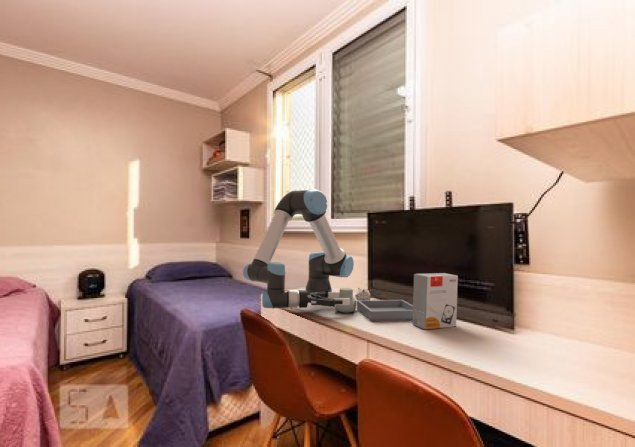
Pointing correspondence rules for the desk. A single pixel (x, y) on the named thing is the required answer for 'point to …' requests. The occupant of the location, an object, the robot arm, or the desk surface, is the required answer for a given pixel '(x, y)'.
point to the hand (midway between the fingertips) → (345, 298)
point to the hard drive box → (435, 300)
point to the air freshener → (346, 294)
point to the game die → (363, 294)
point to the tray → (385, 310)
